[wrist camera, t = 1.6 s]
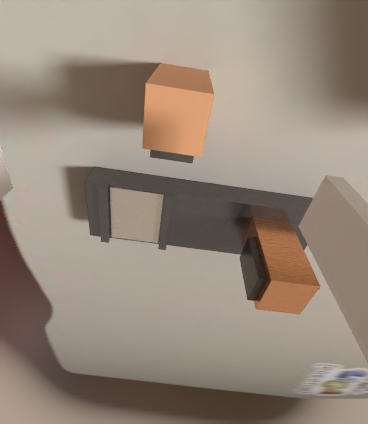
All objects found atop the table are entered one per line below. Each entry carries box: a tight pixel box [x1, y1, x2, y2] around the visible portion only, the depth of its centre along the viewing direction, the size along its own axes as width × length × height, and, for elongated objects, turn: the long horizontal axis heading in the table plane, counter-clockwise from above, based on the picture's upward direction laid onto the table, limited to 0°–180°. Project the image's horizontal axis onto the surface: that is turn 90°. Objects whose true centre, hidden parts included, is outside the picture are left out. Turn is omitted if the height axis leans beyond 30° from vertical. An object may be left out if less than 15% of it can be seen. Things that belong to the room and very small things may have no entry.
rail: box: [85, 167, 320, 314], centre depth 26 cm, size 7×24×11 cm, turn 82°
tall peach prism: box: [142, 63, 214, 163], centre depth 20 cm, size 4×5×8 cm
